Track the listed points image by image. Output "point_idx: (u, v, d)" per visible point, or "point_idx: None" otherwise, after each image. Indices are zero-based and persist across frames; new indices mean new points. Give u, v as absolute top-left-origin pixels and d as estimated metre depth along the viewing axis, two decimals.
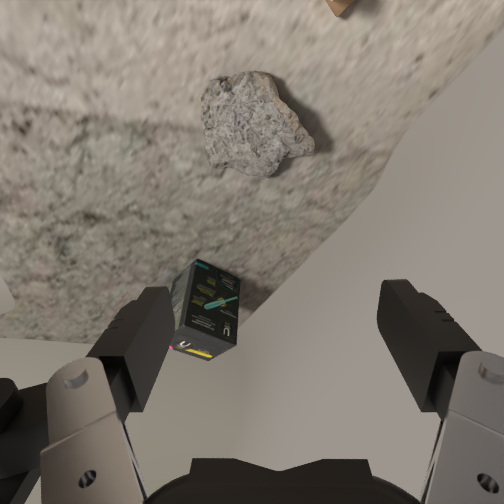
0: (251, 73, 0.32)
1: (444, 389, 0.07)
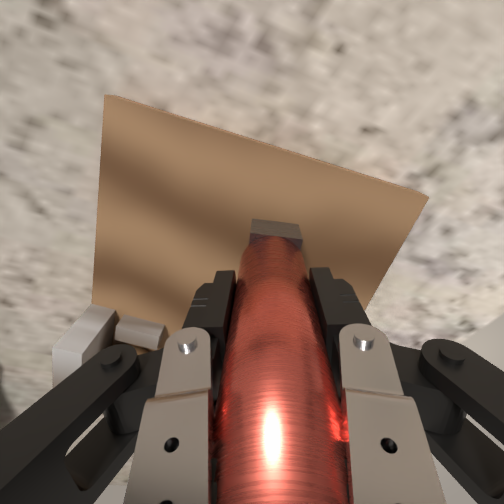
0: None
1: (333, 357, 0.08)
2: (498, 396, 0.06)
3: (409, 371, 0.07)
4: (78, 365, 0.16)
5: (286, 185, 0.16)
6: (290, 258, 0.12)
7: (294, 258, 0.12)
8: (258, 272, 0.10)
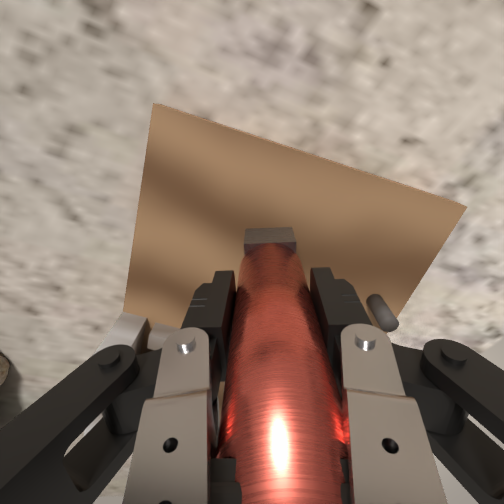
0: None
1: (335, 358, 0.08)
2: (500, 396, 0.06)
3: (411, 371, 0.07)
4: None
5: (328, 194, 0.16)
6: (284, 263, 0.12)
7: (288, 262, 0.12)
8: (252, 282, 0.11)
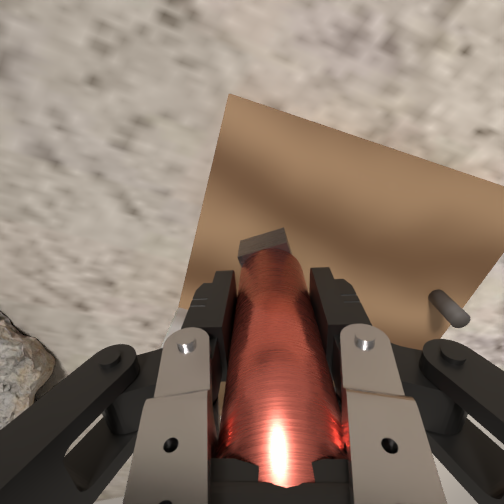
0: (25, 357, 0.20)
1: (334, 357, 0.08)
2: (499, 396, 0.06)
3: (410, 371, 0.07)
4: None
5: (399, 186, 0.15)
6: (274, 267, 0.12)
7: (279, 265, 0.12)
8: (244, 294, 0.11)
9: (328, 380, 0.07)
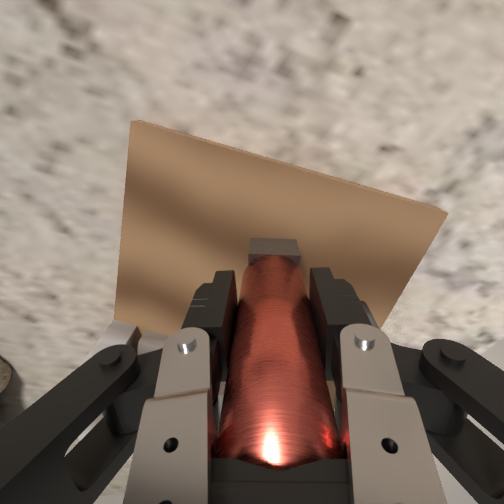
0: None
1: (334, 357, 0.08)
2: (499, 396, 0.06)
3: (410, 371, 0.07)
4: None
5: (306, 203, 0.16)
6: (287, 277, 0.12)
7: (291, 276, 0.12)
8: (255, 295, 0.11)
9: (331, 404, 0.08)
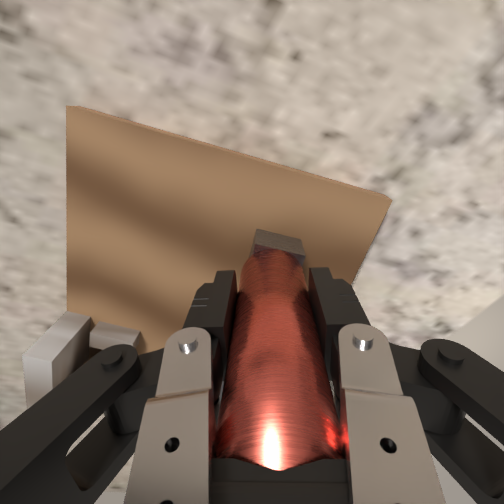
0: None
1: (333, 357, 0.08)
2: (497, 396, 0.06)
3: (408, 371, 0.07)
4: (48, 372, 0.17)
5: (250, 191, 0.16)
6: (294, 274, 0.12)
7: (297, 274, 0.12)
8: (263, 286, 0.11)
9: None
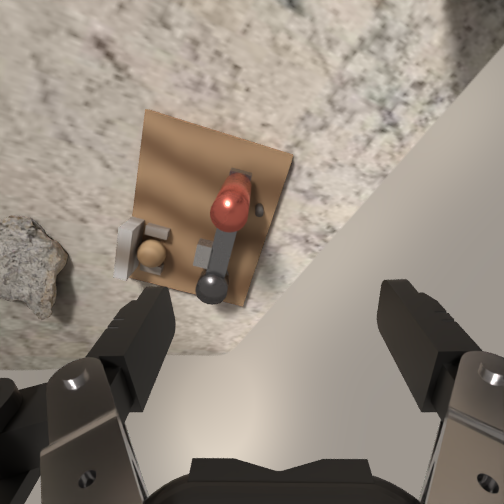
0: (53, 247, 0.39)
1: (444, 389, 0.07)
2: None
3: None
4: (130, 237, 0.34)
5: (227, 150, 0.34)
6: (244, 178, 0.30)
7: (246, 179, 0.30)
8: (231, 178, 0.29)
9: None
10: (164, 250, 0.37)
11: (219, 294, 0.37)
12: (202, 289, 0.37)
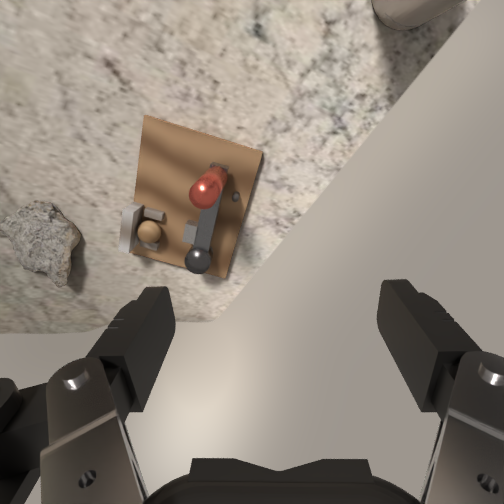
0: (69, 227, 0.48)
1: (444, 389, 0.07)
2: None
3: None
4: (131, 217, 0.43)
5: (209, 148, 0.42)
6: (220, 170, 0.38)
7: (222, 171, 0.38)
8: (209, 170, 0.37)
9: (220, 188, 0.34)
10: (159, 229, 0.46)
11: (203, 265, 0.46)
12: (190, 261, 0.45)
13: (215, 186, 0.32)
